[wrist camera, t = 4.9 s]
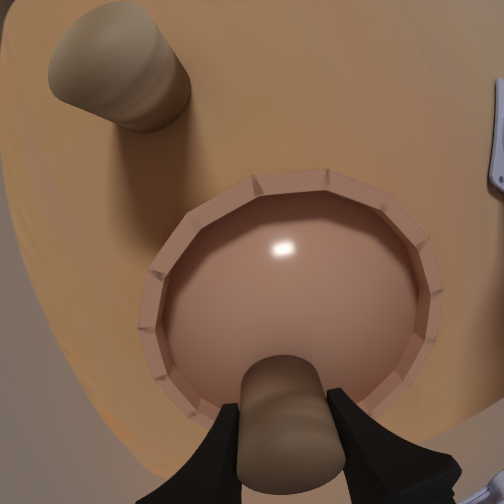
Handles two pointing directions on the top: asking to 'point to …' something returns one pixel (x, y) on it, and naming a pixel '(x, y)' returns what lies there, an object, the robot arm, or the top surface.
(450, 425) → the top surface
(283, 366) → the brown short cylinder
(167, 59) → the beige tall rounded piece
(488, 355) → the top surface
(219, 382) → the dish
